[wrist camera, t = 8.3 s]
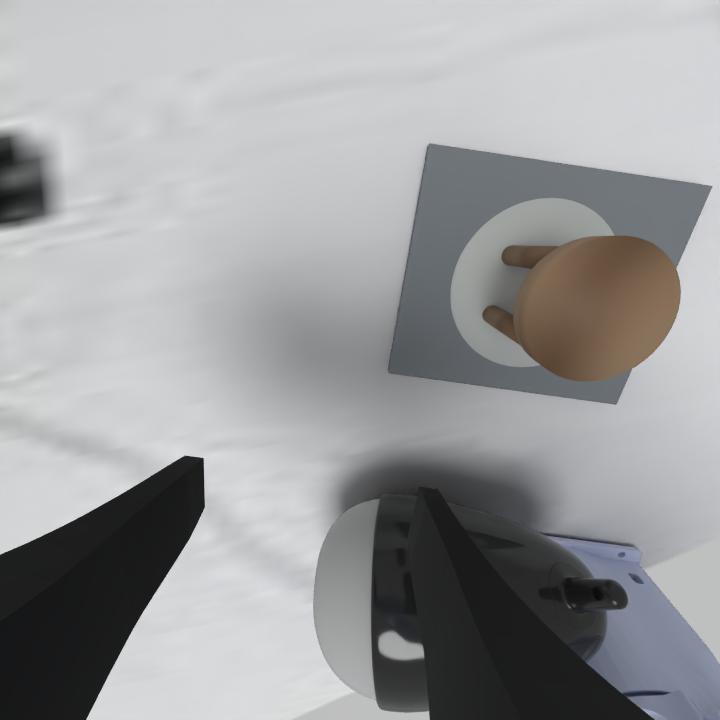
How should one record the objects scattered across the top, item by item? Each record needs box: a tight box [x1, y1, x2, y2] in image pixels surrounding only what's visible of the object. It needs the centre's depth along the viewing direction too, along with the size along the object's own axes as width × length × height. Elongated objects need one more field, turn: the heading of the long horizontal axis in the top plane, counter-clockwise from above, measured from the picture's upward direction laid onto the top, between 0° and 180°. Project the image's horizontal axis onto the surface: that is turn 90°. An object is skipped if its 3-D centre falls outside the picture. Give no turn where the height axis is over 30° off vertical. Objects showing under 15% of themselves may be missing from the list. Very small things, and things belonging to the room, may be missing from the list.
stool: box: [482, 236, 681, 382], centre depth 15 cm, size 6×6×6 cm
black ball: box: [313, 494, 628, 713], centre depth 19 cm, size 10×10×15 cm
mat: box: [388, 144, 712, 404], centre depth 18 cm, size 14×12×1 cm
